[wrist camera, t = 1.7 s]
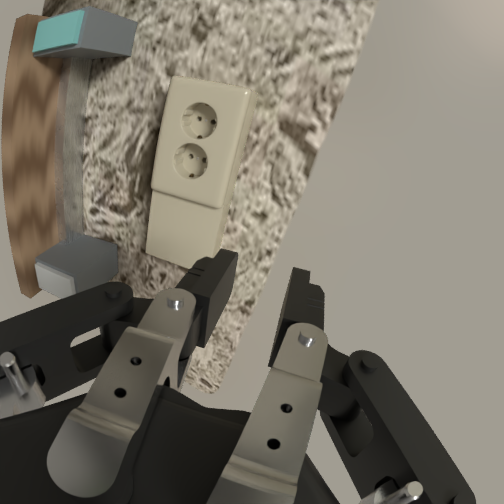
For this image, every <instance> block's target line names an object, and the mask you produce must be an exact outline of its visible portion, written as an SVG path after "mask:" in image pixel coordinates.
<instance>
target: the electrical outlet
mask: <svg viewBox="0 0 504 504" xmlns="http://www.w3.org/2000/svg"><path fill="white" fill-rule="evenodd" d="M257 99H258V93H257V92H256V91H253V90H251V89H248V88H244V87H240V86H235V85H230V84H225V83H220V82H214V81H209V80H203V79H197V78H190V77H183V76H173V77H172V78H171V80H170V85H169V89H168V93H167V98H166V102H165V107H164V112H163V117H162V122H161V127H160V132H159V137H158V143H157V148H156V154H155V160H154V166H153V173H152V180H151V188H152V189H153V192H152V200H151V207H150V215H149V224H148V233H147V243H146V253H147V254H149V255H152V256H155V257H158V258H160V259H163V260H166V261H169V262H171V263H174V264H177V265H180V266H182V267H185V268H188V269H190V268H192V266H193V265H194V263H195V262H196V261H197V260H199V259H201V258H203V257H206V256H207V257H211V258H214V257H215V255H216V254H217V253H218V251H219V250H220V246H221V242H222V238H223V233H224V229H225V225H226V221H227V216H228V212H229V208H230V204H231V200H232V196H233V192H234V188H235V184H236V180H237V176H238V172H239V168H240V164H241V160H242V156H243V152H244V148H245V144H246V140H247V137H248V133H249V129H250V125H251V121H252V118H253V114H254V110H255V106H256V103H257Z"/></svg>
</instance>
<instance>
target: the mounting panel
mask: <svg viewBox="0 0 504 504" xmlns="http://www.w3.org/2000/svg"><path fill="white" fill-rule="evenodd" d="M46 18H49V17H45V16H38V15H30V14H26V15H24V16H22V17H19V18H17V19H16V23H15V27H14V31H13V36H12V41H11V46H10V51H9V57H8V64H7V71H6V79H5V88H4V99H3V114H2V174H3V189H4V200H5V210H6V217H7V225H8V232H9V238H10V244H11V249H12V255H13V259H14V264H15V269H16V274H17V278H18V282H19V286H20V290H21V293H22V294H24V295H26V296H27V297H29V298H32V297H33V296H34V295H36V294H37V293H38V292H40V291H41V290H42V289H41V288H39V284H38V279H37V274H36V269H35V264H36V262H35V258H36V257H37V256H39V255H40V254H42V253H43V252H45V251H46V250H48V249H49V248H51V247H53V246H54V245H56V244H57V243H59V237H58V227H57V215H56V198H55V130H56V114H57V102H58V92H59V83H60V76H61V69H62V62H63V58H49V57H33V55H34V52H32V51H33V46H34V40H35V36H36V31H37V26H38V22H40V21H41V20H43V19H46Z"/></svg>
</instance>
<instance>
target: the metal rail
mask: <svg viewBox="0 0 504 504" xmlns="http://www.w3.org/2000/svg"><path fill="white" fill-rule="evenodd" d="M91 65H92V59H88V58H79V57H68V58H63V62H62V69H61V76H60V83H59V92H58V102H57V114H56V130H55V198H56V215H57V227H58V237H59V243H62V244H65V245H68V244H70V243H71V242H73V241H75V240H76V239H78V238H79V237H81V236H83V235H84V223H83V190H82V174H83V142H84V126H85V114H86V103H87V94H88V86H89V79H90V72H91Z"/></svg>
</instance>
